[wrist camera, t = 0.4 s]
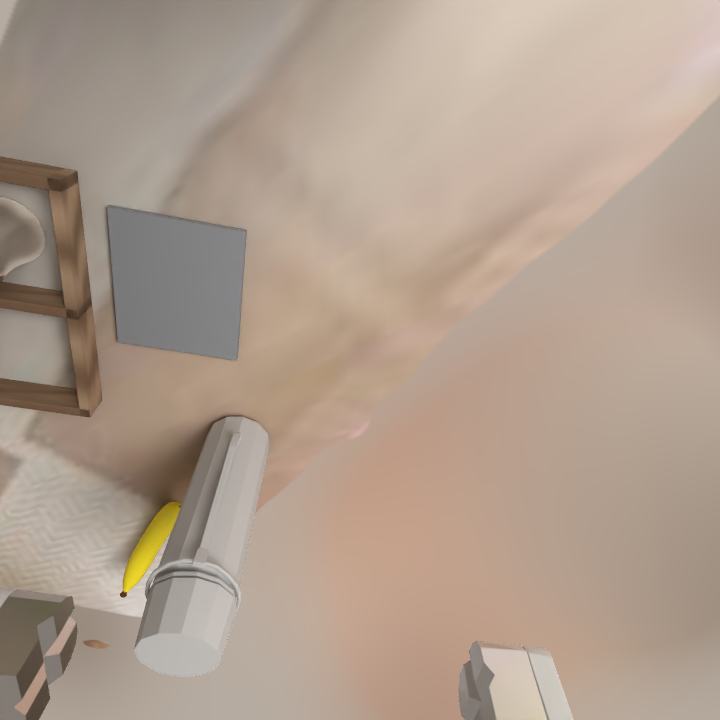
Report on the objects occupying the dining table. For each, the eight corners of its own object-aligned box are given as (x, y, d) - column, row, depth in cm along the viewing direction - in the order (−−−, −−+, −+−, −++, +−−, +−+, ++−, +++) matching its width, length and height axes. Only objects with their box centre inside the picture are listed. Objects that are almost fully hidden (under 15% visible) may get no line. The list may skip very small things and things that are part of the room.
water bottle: (268, 463, 63) (222, 685, 42) (203, 451, 61) (122, 672, 40) (282, 406, 58) (237, 625, 37) (211, 391, 56) (124, 608, 36)
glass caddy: (-87, 140, 42) (-115, 147, 40) (76, 170, 44) (59, 179, 41) (-22, 382, 56) (-40, 399, 53) (102, 399, 57) (90, 417, 55)
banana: (202, 479, 64) (188, 521, 59) (149, 559, 73) (132, 601, 68) (180, 470, 63) (164, 511, 58) (129, 552, 72) (111, 594, 67)
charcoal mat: (109, 205, 45) (106, 207, 45) (246, 229, 46) (245, 232, 46) (120, 339, 53) (118, 342, 52) (237, 357, 54) (236, 360, 53)
